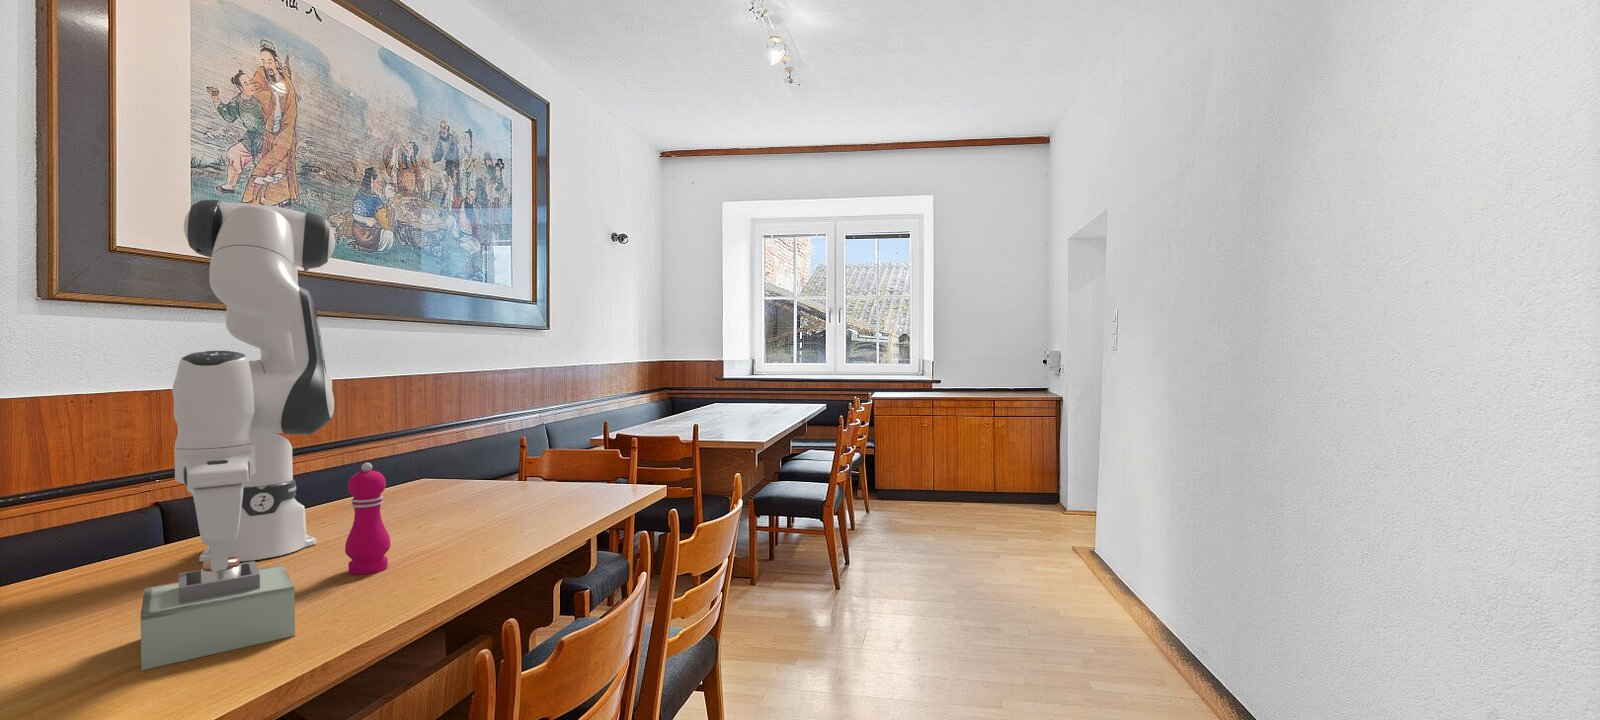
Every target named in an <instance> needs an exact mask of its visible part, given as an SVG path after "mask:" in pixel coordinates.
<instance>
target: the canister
mask: <svg viewBox="0 0 1600 720" xmlns="http://www.w3.org/2000/svg"><path fill="white" fill-rule="evenodd" d="M239 563H240V561H239V557H228V567H227V568H226V569H225V570H220V571H212V570H211V561H210V560H207V561H205V562H202V568H201V569H200V570H201V583H204V582H210V581H216V580H222V579H228V578H233V577H239V576H241V564H239Z"/></svg>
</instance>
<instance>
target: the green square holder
mask: <svg viewBox="0 0 1600 720" xmlns="http://www.w3.org/2000/svg"><path fill="white" fill-rule="evenodd" d="M239 564H241V576H239V577H233V578H228V579H222V580H216V581H210V582H204V583H201V570H202V569H197V570H191V571H183V572H180V573H178V582H175V583H168V584H162V585H157V586H156V585H155V586H152V587H145V588H144V589H143V594H142V595H143V597H142V603H141V609H140V617H139V618H140V656H141V657H140V659H141V671H145V670H149V669H154V668H158V667H162V666H167V665H172V664H176V663H180V662H184V661H189V660H193V659H197V658H198V659H199V658H203V657H207V656H210V655H211V656H212V655H215V654H220V653H224V652H229V651H234V650H238V649H241V648H242V649H243V648H246V647H250V646H256V645H261V644H265V643H269V642H273V641H277V640H282V639H287V638H291V637H295V636H296V611H295V606H296V605H295V602H296V601H295V585H294V584H293V582H292V581H293V580H292V579H291V578H290V575H289V574H288V572H287V570H286V568H285V565H284V564H280V565H275V566H269V567H262V568H258V566H257V564H256V560H250V561H244V562H241V563H240V562H239Z"/></svg>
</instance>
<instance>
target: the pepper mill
mask: <svg viewBox="0 0 1600 720" xmlns="http://www.w3.org/2000/svg"><path fill="white" fill-rule="evenodd" d="M360 468H361V471H359V472H357V473H355V474H354V475H352V476H351V477H350V479H349V480H348V484H347V491H348V492H349V494H350V495H351V496H352V497H353V498H352V499H351V500H350V501H351V505H350V506H351V507H352V508H353V510H354V511H353V512H354V516H353V517H354V518H353V524H352V527H351V529H350V530H349V533H348V535H347V539H346V541H345V546H344V547H345V548H344V553H345V555H346V556H347V557H348V558H349V559H351V560H350V561H349V562H348V564H347V565H348V573H349V574H350V575H353V576H354V575H357V576H358V575H370V574H374V573H375V574H376V573H378V572H381V571H384V570H386V569H387V568H388V567H389V560H388V559H389V558H388V556H386V555H385V554H387V552H389V550H390V548H391V538H390V534H389V532H388V530H387V529H386V527H385V525H384V522H383V520H382V515H381V507H382V504H383V503H384V501H383V498H384V496H383V495H382V493H383V492H384V491H385V489H386V488H387V487H386V486H387V482H386V478H385V476H384V475H383V474H382V473H381V472H379V471H377V470H372V469H373V465H372V464H371V463H370V462H365V463H363V464H362V465H361V467H360Z"/></svg>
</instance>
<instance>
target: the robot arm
mask: <svg viewBox="0 0 1600 720" xmlns="http://www.w3.org/2000/svg"><path fill="white" fill-rule="evenodd" d="M331 225H332V224H331V222H330V221H329V220H328V219H327V218H326V217H324V216H321V215H319V214H315V213H313V212H309V211H307V212H302V211H299V210H294V209H290V208H286V207H281V206H275V205H270V204H265V205H262V204H257V203H255V204H254V203H246V202H231V201H222V200H221V199H201V200H198V201H197V202H194V203H193V204H192V205H191V206H190V210H189V211H188V212H187V214H186V216H185V218H184V222H183V232H184V236H185V238H186V240H187V243H188V246H189V248H190V249H191V250H193V252H195V253H196V254H198V255H201V256H204V257H206V258H211V259H210V262H209V263H210V264H209V285H210V289H211V290H212V292H213V294H214V295H215V297H217V299H218V300H219V301H220V302H221V303H223V305H225V306H226V312H225V314H226V316H225V326H226V329H227V331H228V333H229V334H230V335H231V336H232V337H233V338H235V339H237V340H239V341H240V342H243V343H245V344H247V345H250V346H253V347H255V348H258V349H259V350H260V359H256V360H249V359H248V356H247V355H246V354H244V353H241V352H238V351H237V352H236V351H233V350H207V351H206V350H205V351H198V352H193V353H189V354H186V355H184V356H183V357H182V358H180V359H179V363H178V366H177V371H176V376H175V379H174V381H173V385H172V389H171V390H172V396H173V418H174V420H175V422H176V426H177V435H176V439H175V441H174V442H175V443H174V446H173V447H174V449H173V451H174V481H175V482H178V483H182V484H184V485H185V486H186V491H187V492H188V493H191V495H192V497H193V501H194V507H195V512H196V519H197V524H198V529H199V530H198V531H199V534H200V539H201V543H202V544H203V545H208V547H207V548H206V549H205V550H204V551H203V552H202V553H201V554H200V556H199V559H198V561H199V562H200V563H203V562H205V561H207V560H210V561H211V570H212V571H220V570H225V569H226V568H227V567H228V557H239V562H251V561H256V560H258V561H259V560H263V559H269V558H274V557H280V556H283V555H288V554H291V553H293V552H296V551H299V550H302V549H303V548H307V547H309V546H313V545H316V544H317V543H318V542H317V538H316V537H313V536H311V535H308V534H307V524H306V523H307V522H306V510H305V509H306V508H305V505H303V504H302V503H301V502H298V501H297V500H296V498H295V497H296V496H297V492H296V491H297V485H296V480H295V479H294V476H293V475H294V472H293V470H294V469H293V467H294V466H293V446H292V444H291V442H290V440H289V439H287V438H286V437H285V436H283V435H281V434H284V435H300V436H303V435H304V436H305V435H306V436H310V435H311V436H312V435H313V434H314V433H316V432H318V431H319V430H320V429H322V428H324V427H325V426H326V425H327V424H328V423H329V422H331V420H333V414H334V411H335V397H334V392H333V380H332V377H331V374H330V373H329V371H328V369H327V368H326V363H325V362H326V360H325V356H324V355H325V354H324V349H323V343H322V336H321V335H322V334H321V329H320V324H319V318H318V313H317V309H316V305H315V302H314V299H313V297H312V295H311V292H310V291H309V290H307V289H306V288H304V287H302V286H299V276H298V275H299V274H298V267H301V268H303V271H304V272H309V270H310V269H315V268H321V267H322V266H324V265H326V264H327V263H328V261H329V259H330V258H331V256H332V255H333V253H334V250H335V246H336V237H335V234H334V231H333V228H332V227H331Z"/></svg>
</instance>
